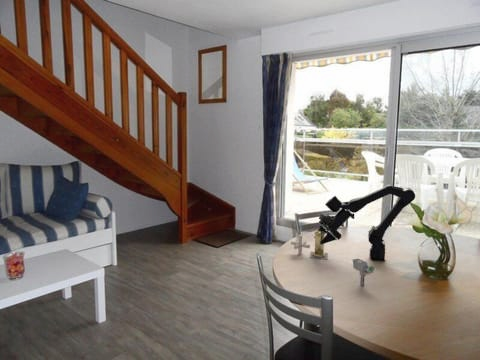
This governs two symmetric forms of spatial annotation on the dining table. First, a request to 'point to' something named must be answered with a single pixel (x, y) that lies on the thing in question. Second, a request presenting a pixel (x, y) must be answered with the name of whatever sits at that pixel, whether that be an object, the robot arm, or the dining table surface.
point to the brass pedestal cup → (318, 247)
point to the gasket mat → (319, 257)
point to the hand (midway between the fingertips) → (317, 240)
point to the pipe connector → (300, 245)
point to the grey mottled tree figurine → (362, 269)
